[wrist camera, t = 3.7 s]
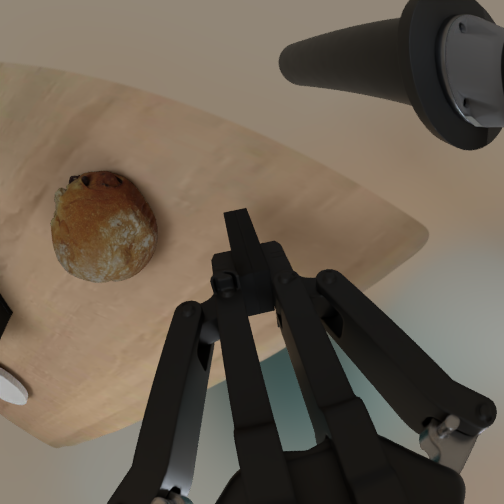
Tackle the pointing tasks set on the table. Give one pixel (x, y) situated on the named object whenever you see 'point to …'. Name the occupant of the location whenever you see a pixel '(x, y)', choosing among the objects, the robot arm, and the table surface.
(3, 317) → the black storage bin
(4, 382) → the plastic lid
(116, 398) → the table surface
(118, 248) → the bread roll
